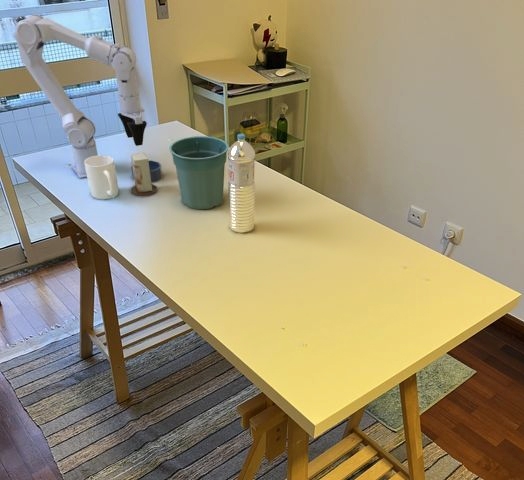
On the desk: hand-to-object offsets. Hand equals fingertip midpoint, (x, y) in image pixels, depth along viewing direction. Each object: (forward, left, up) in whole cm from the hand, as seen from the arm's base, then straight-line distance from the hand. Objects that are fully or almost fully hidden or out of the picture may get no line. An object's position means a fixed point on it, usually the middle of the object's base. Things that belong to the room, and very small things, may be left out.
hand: (135, 141), depth 167 cm
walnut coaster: (+13, -3, -10) cm, 17 cm away
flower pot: (+28, +10, -10) cm, 31 cm away
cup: (+12, -14, -10) cm, 21 cm away
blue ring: (+4, +2, -10) cm, 11 cm away
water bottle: (+48, +13, -11) cm, 50 cm away
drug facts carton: (+13, -3, -10) cm, 17 cm away
